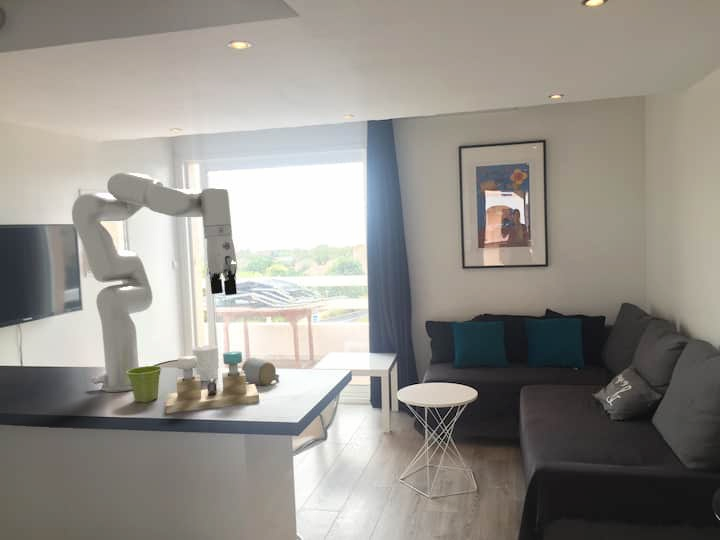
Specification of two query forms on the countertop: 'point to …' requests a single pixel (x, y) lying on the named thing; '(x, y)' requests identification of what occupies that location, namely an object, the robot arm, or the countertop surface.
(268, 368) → the ceramic mug
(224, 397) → the mount
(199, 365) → the white cup
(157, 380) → the plant pot
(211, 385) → the grey metal peg
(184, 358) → the ivory knob
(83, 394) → the countertop surface
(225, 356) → the teal knob
